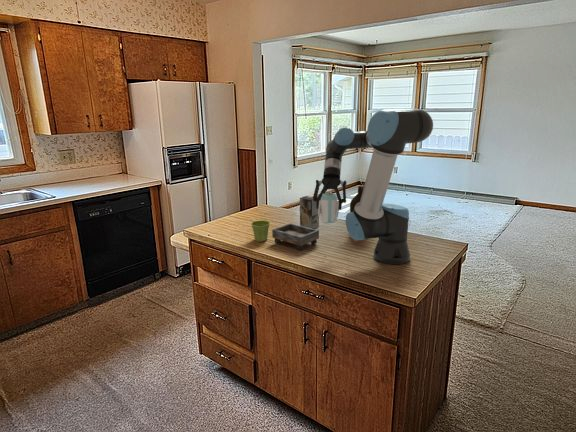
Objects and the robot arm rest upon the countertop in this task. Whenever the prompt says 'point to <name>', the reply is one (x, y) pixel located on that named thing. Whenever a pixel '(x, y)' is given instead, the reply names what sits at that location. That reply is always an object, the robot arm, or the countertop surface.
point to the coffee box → (308, 213)
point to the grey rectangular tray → (295, 235)
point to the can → (328, 208)
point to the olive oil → (356, 198)
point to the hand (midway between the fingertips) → (327, 215)
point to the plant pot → (260, 230)
